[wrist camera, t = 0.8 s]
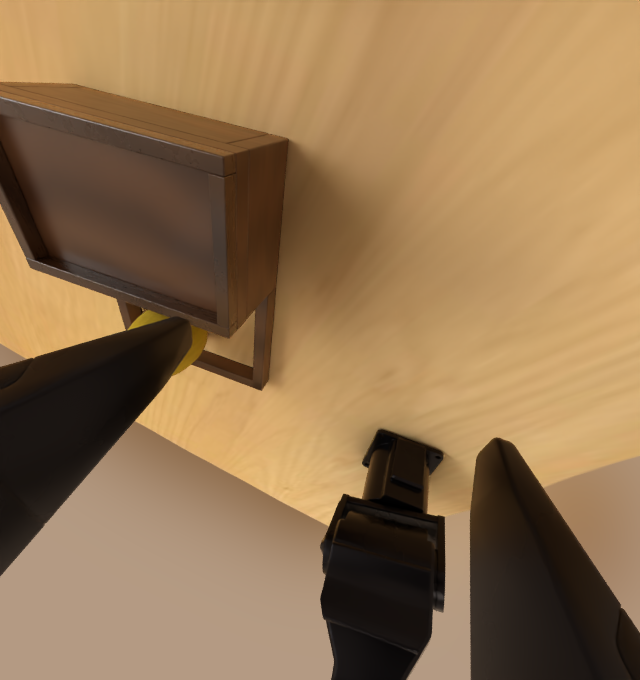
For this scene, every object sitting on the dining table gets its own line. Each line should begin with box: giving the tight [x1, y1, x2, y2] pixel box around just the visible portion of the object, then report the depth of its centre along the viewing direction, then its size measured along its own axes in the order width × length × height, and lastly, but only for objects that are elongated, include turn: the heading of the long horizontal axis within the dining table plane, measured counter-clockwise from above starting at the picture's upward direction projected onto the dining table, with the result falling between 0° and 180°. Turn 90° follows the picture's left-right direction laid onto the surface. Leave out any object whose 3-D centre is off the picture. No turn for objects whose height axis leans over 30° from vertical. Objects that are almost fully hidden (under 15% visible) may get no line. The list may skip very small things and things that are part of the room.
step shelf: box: [0, 82, 288, 391], centre depth 23 cm, size 21×15×7 cm
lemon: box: [128, 310, 208, 376], centre depth 26 cm, size 6×6×8 cm
